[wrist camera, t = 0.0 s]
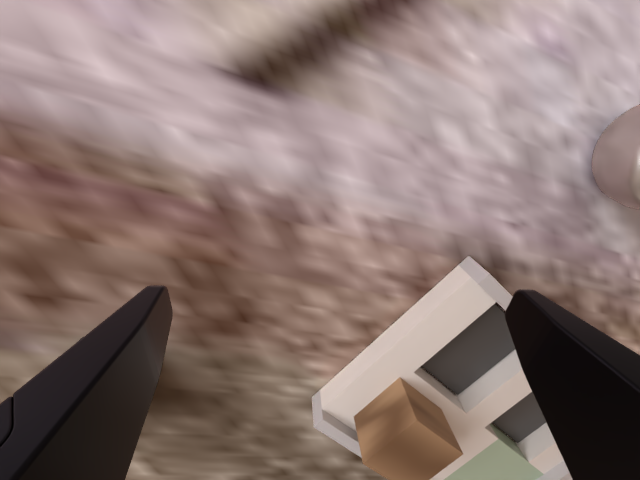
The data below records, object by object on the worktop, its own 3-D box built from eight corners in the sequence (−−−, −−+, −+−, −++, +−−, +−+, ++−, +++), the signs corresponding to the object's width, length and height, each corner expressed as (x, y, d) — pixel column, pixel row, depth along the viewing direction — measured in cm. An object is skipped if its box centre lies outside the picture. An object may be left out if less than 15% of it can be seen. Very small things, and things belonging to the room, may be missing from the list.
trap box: (472, 504, 37) (486, 537, 34) (311, 397, 30) (313, 427, 27) (615, 402, 33) (645, 429, 30) (468, 255, 27) (489, 273, 24)
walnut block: (395, 445, 30) (410, 493, 26) (353, 416, 29) (363, 463, 25) (441, 408, 29) (463, 454, 25) (399, 377, 28) (416, 420, 24)
